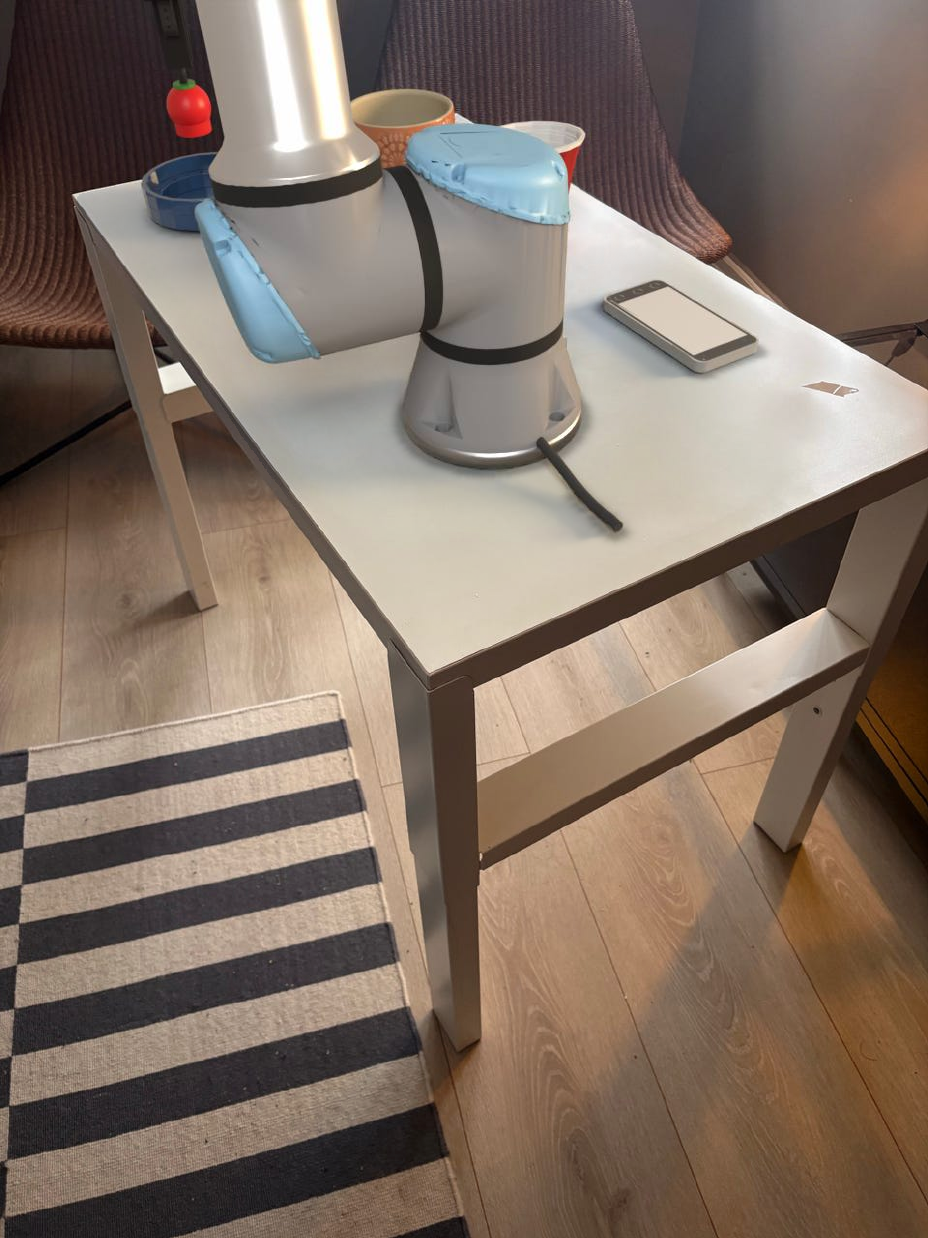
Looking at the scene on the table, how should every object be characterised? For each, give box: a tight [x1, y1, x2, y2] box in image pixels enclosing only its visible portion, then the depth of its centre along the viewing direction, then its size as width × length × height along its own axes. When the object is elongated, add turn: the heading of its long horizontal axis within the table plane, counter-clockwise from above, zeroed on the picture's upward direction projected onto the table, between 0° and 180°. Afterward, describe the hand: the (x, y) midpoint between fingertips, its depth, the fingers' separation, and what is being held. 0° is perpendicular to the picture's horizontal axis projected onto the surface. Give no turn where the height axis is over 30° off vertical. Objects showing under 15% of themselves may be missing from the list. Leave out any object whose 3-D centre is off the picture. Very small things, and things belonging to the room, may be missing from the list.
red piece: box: [165, 68, 213, 139], centre depth 109 cm, size 5×5×15 cm
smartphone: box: [603, 278, 759, 374], centre depth 97 cm, size 7×1×15 cm
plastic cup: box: [497, 120, 586, 195], centre depth 107 cm, size 11×11×12 cm
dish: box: [140, 151, 219, 232], centre depth 119 cm, size 14×14×4 cm
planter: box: [350, 88, 456, 169], centre depth 116 cm, size 12×12×11 cm
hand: (180, 64), depth 109 cm, fingers closed on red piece
